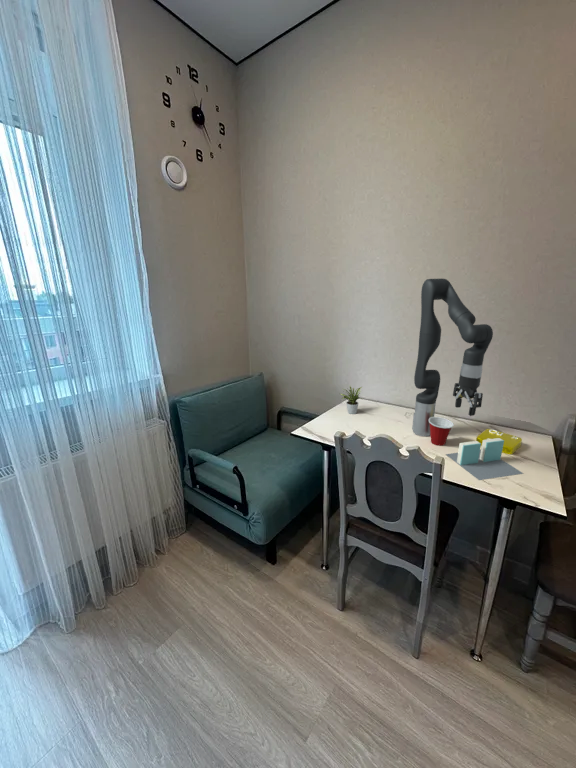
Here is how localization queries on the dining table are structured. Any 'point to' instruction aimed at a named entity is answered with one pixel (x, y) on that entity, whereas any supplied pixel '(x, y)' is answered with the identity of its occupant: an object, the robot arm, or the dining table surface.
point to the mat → (487, 468)
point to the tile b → (491, 449)
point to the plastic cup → (439, 430)
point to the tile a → (468, 452)
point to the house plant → (352, 400)
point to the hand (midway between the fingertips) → (464, 411)
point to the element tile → (509, 440)
